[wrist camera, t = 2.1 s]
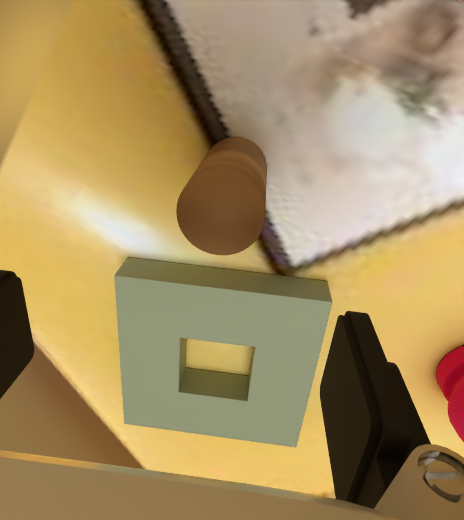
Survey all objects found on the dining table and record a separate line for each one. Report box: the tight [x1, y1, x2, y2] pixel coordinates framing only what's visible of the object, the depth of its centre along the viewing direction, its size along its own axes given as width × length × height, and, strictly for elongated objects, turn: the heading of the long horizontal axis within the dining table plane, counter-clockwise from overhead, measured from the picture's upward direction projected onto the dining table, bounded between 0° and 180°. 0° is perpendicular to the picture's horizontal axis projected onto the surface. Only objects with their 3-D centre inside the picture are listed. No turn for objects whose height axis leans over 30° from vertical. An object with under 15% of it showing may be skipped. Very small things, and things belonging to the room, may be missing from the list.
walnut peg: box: [176, 137, 267, 255], centre depth 23 cm, size 4×4×9 cm
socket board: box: [115, 257, 332, 447], centre depth 33 cm, size 16×16×3 cm
